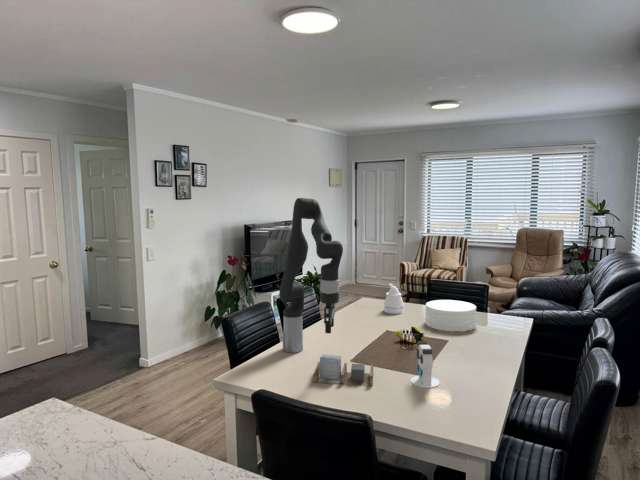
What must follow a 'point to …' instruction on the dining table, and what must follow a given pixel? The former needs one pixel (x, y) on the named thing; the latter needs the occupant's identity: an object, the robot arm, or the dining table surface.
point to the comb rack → (343, 377)
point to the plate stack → (450, 315)
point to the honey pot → (393, 301)
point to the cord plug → (357, 372)
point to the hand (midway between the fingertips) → (329, 329)
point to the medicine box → (330, 366)
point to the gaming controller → (414, 334)
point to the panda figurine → (424, 367)
